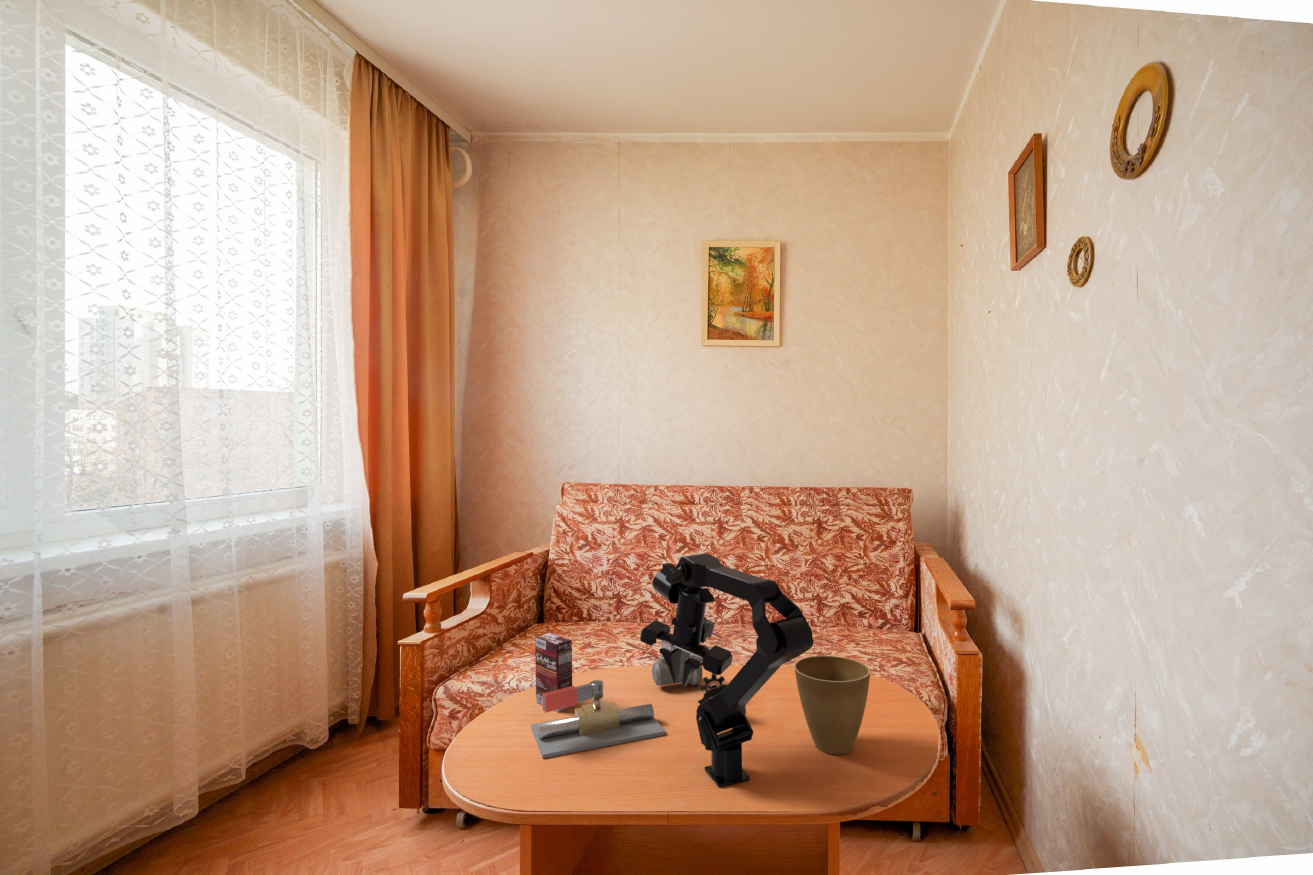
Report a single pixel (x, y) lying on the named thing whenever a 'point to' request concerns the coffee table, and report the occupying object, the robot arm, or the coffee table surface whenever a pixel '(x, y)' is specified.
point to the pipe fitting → (664, 676)
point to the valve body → (595, 719)
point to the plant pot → (833, 699)
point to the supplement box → (552, 664)
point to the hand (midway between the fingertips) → (680, 683)
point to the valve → (720, 680)
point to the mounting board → (596, 737)
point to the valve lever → (572, 695)
